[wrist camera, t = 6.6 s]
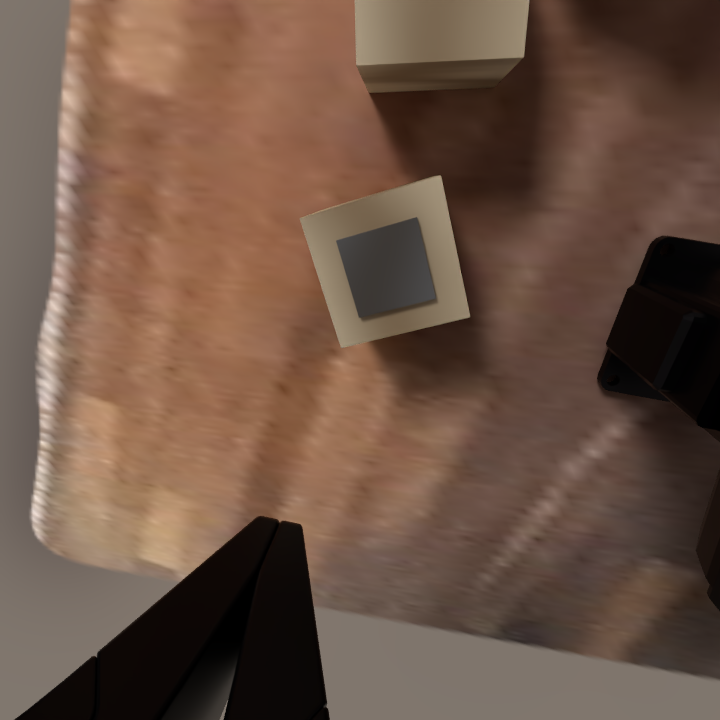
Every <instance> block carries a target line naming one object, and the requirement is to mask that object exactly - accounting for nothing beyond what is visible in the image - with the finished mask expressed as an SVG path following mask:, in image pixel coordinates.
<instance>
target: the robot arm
mask: <svg viewBox="0 0 720 720" xmlns="http://www.w3.org/2000/svg"><path fill="white" fill-rule="evenodd" d="M666 244H668V245H669V251H668V252H667V253H666V254H664V255H661V254H660V250H661V248H662V247H663V246H664V245H666ZM606 345H607V347H608V350H607V353H606V355H605V358H604V360H603V363H602V366H601V368H600V371H599V373H598V377H597V379H598V382H599V384H600V385H601V386H602V387H603V388H604V389H606V390H608V391H613V392H619V393H624V394H630V395H635V396H641V397H646V398H652V399H657V400H663V401H669V402H672V403H673V404H674V405H675V406H676V407H677V408H678V409H680V410H681V411H682V412H683V413H684V414H685V415H687V416H688V417H689V418H690V419H691V420H692V421H694V422H695V423H696V424H697V425H698V426H700V427H702V428H704V429H705V430H706V431H707V432H709V433H710V434H711V435H712V436H713V437H714V438H716V439H717V440H718V441H719V442H720V244H714V243H708V242H702V241H696V240H690V239H684V238H678V237H672V236H660V237H658V238H656V239H655V240H654V241H652V243H651V244H650V246H649V248H648V250H647V253H646V255H645V258H644V260H643V263H642V265H641V268H640V270H639V273H638V275H637V278H636V280H635V283H634V284H633V285H632V286H631V287H629V288H628V289H627V292H626V294H625V297H624V299H623V302H622V304H621V307H620V309H619V312H618V314H617V317H616V319H615V322H614V324H613V327H612V330H611V332H610V335H609V337H608V340H607V342H606ZM612 375H616V378H615V379H614V380H613V381H611V382H607V379H608V378H609V377H610V376H612ZM696 552H697V555H698V558H699V560H700V563H701V566H702V569H703V572H704V574H705V577H706V579H707V581H708V582H709V584H710V585H709V588H708V591H707V594H708V596H709V598H710V599H711V601H712V602H713V603H714V604H715V606H716V607H717V608H718V609H719V611H720V469H719V472H718V476H717V479H716V482H715V485H714V488H713V491H712V494H711V498H710V501H709V504H708V507H707V510H706V513H705V517H704V520H703V523H702V526H701V529H700V533H699V538H698V543H697V548H696ZM228 698H229V699H228ZM227 700H228V703H227V707H226V712H225V716H224V720H330V718H329V711H328V708H327V707H326V706H327V699H326V692H325V684H324V677H323V671H322V663H321V656H320V649H319V642H318V635H317V628H316V621H315V614H314V606H313V599H312V592H311V585H310V578H309V571H308V564H307V557H306V550H305V543H304V535H303V529H302V526H301V525H300V524H298V523H293V522H288V521H281V522H280V523H279V521H278V520H277V519H274V518H269V517H264V516H258V517H256V518H255V519H254V520H253V521H252V522H250V523H249V524H248V525H247V526H246V527H245V528H243V529H242V530H241V531H240V532H239V533H237V534H236V535H235V536H234V537H233V538H232V539H230V540H229V541H228V542H227V543H226V544H224V545H223V546H222V547H221V548H220V549H219V550H217V551H216V552H215V553H214V554H213V555H212V556H210V557H209V558H208V559H207V560H206V561H204V562H203V563H202V564H201V565H200V566H199V567H197V568H196V569H195V570H194V571H193V572H191V573H190V574H189V575H188V576H187V577H186V578H184V579H183V580H182V581H181V582H180V583H179V584H177V585H176V586H175V587H174V588H173V589H172V590H170V591H169V592H168V593H167V594H166V595H164V596H163V597H162V598H161V599H160V600H158V601H157V602H156V603H155V604H154V605H153V606H151V607H150V608H149V609H148V610H147V611H146V612H144V613H143V614H142V615H141V616H140V617H139V618H137V619H136V620H135V621H134V622H133V623H131V624H130V625H129V626H128V627H127V628H126V629H124V630H123V631H122V632H121V633H120V634H118V635H117V636H116V637H115V638H114V639H112V640H111V641H110V642H109V643H108V644H107V645H106V646H104V647H103V648H102V649H101V650H100V651H99V652H98V653H97V657H95V656H92V657H91V658H90V659H89V660H87V661H86V662H85V663H84V664H83V665H82V666H80V667H79V668H78V669H77V670H76V671H74V672H73V673H72V674H71V675H70V676H69V677H67V678H66V679H65V680H64V681H62V682H61V683H60V684H59V685H58V686H56V687H55V688H54V689H53V690H51V691H50V692H49V693H48V694H47V695H45V696H44V697H43V698H41V699H40V700H39V701H38V702H37V703H35V704H34V705H33V706H32V707H30V708H29V709H28V710H27V711H25V712H24V713H23V714H21V715H20V716H19V717H17V718H16V719H15V720H219V719H220V717H221V714H222V712H223V710H224V707H225V705H226V702H227Z"/></svg>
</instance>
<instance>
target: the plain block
mask: <svg viewBox="0 0 720 720" xmlns="http://www.w3.org/2000/svg"><path fill="white" fill-rule="evenodd" d="M528 10H529V0H355V30H356V66H357V68H358V70H359V73H360V75H361V77H362V79H363V81H364V83H365V86H366V88H367V90H368V92H369V93H380V92H403V91H426V90H449V89H472V88H494V87H495V86H496V85H497V84H498V83H499V82H500V81H501V80H502V79H503V78H504V77H505V76H506V75H507V74H508V73H509V72H510V71H511V70H512V69H513V68H514V67H515V66H516V65H517V64H518V63H519V62H520V61H521V60H522V59H523V58H524V50H525V40H526V30H527V20H528Z"/></svg>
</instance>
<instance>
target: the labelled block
mask: <svg viewBox="0 0 720 720" xmlns="http://www.w3.org/2000/svg"><path fill="white" fill-rule="evenodd" d="M300 221H301V224H302V227H303V231H304V234H305V237H306V240H307V243H308V246H309V249H310V252H311V256H312V259H313V262H314V265H315V268H316V271H317V274H318V277H319V280H320V284H321V287H322V290H323V293H324V296H325V299H326V302H327V305H328V309H329V312H330V315H331V318H332V321H333V324H334V327H335V330H336V333H337V337H338V340H339V343H340V346H341V348H344V347H348V346H352V345H356V344H360V343H364V342H369V341H373V340H377V339H381V338H385V337H390V336H394V335H398V334H402V333H406V332H411V331H415V330H419V329H423V328H427V327H432V326H436V325H440V324H444V323H448V322H452V321H457V320H461V319H465V318H469V317H470V313H469V308H468V303H467V298H466V294H465V289H464V284H463V279H462V274H461V270H460V265H459V260H458V255H457V250H456V245H455V241H454V236H453V231H452V226H451V221H450V217H449V212H448V207H447V202H446V197H445V193H444V188H443V183H442V178H441V175H440V176H431V177H428V178H425V179H421V180H418V181H415V182H412V183H408V184H405V185H402V186H399V187H395V188H392V189H389V190H385V191H382V192H379V193H376V194H372V195H369V196H366V197H363V198H359V199H356V200H353V201H349V202H346V203H343V204H340V205H336V206H333V207H330V208H327V209H323V210H321V211H318V212H315V213H313V214H310V215H308V216H305V217H302V218H300Z"/></svg>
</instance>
